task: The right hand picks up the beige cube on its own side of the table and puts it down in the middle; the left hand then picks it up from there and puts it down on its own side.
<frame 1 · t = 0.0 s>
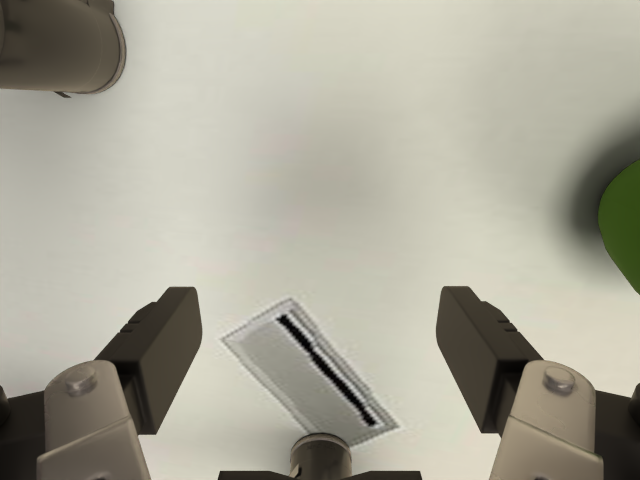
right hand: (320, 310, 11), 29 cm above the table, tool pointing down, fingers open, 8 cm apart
vase: (633, 198, 40), on the table
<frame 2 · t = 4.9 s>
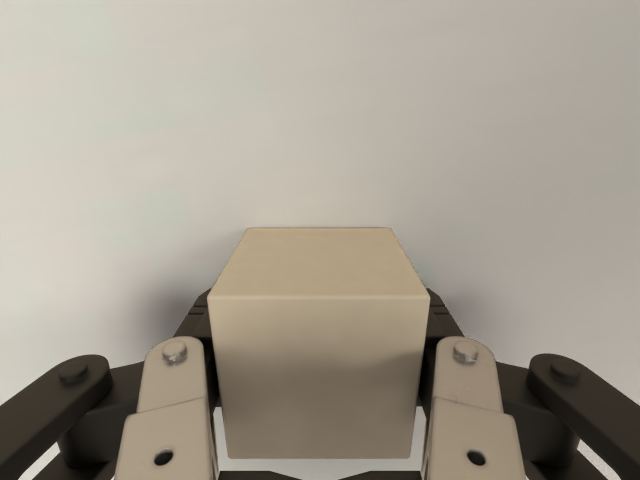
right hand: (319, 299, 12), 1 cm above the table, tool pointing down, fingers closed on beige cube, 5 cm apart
beige cube: (319, 291, 13), on the table, touching right hand
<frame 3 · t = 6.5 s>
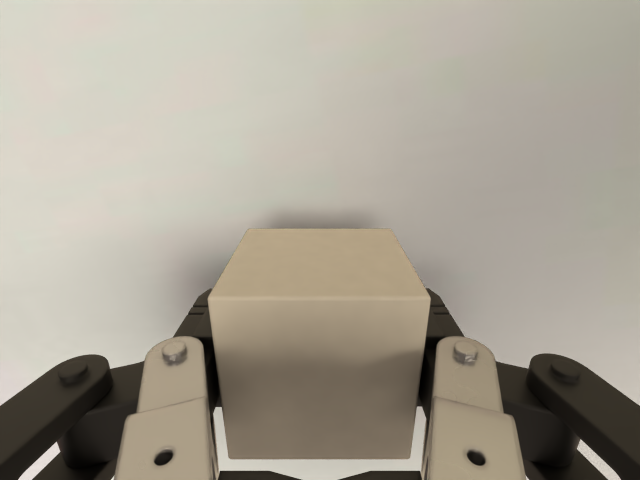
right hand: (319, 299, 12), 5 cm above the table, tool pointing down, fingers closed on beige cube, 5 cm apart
beige cube: (319, 292, 13), point 5 cm above the table, touching right hand
when the right hand's fingers open (2 cm above the table, at t = 8.6 s): beige cube drops 1 cm, on the table.
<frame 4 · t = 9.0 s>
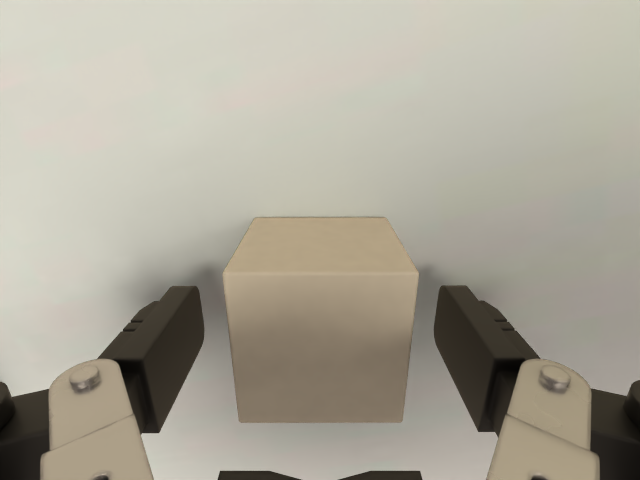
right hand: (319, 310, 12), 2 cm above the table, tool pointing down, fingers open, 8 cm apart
beige cube: (320, 277, 14), on the table
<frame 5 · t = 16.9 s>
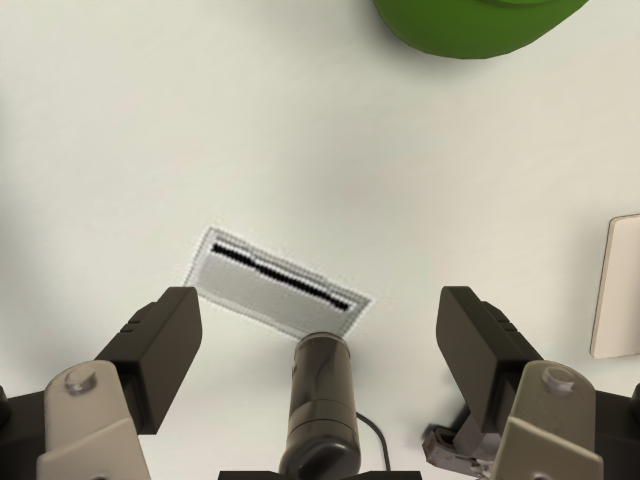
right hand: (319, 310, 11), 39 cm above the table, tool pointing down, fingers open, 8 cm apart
toy: (503, 416, 65), on the table
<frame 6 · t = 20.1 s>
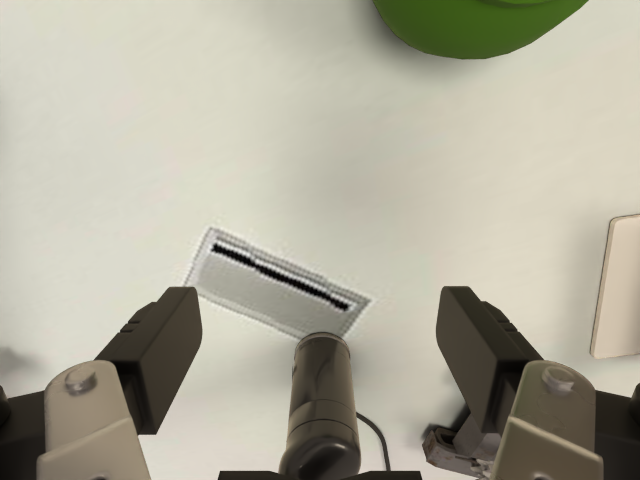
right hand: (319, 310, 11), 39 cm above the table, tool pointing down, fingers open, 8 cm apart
toy: (503, 416, 65), on the table
when the left hand's fingers open (2 cm above the table, at t = 23.7 s): beige cube stays where it is, on the table.
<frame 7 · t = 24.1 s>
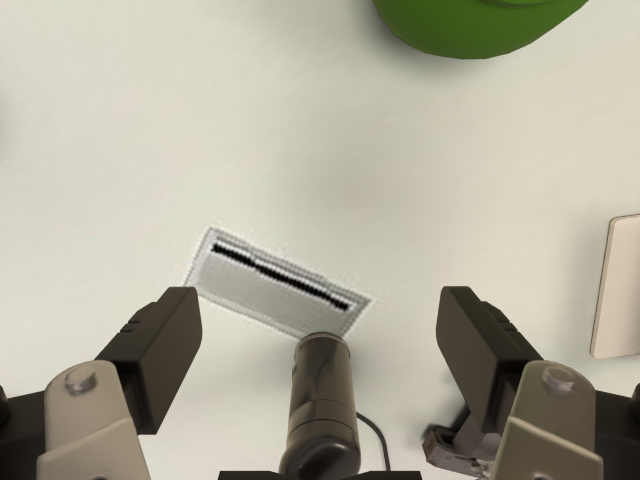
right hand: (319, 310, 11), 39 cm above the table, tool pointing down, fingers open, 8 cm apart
toy: (503, 416, 65), on the table
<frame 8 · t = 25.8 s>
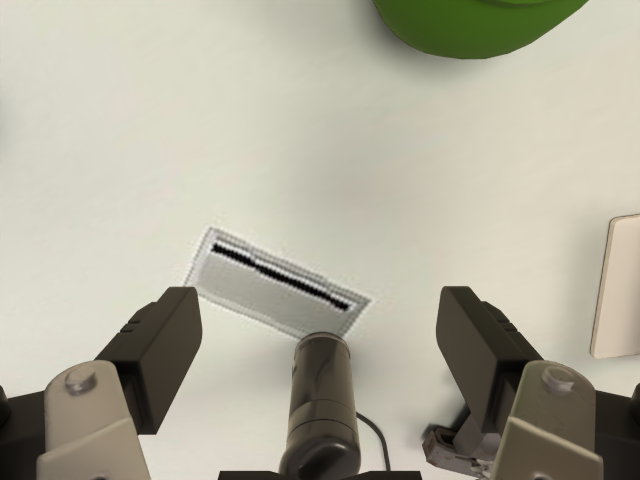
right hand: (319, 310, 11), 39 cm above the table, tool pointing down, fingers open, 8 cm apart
toy: (503, 416, 65), on the table
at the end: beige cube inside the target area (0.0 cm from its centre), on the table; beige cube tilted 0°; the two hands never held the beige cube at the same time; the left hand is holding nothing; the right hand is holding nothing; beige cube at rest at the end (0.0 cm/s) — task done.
